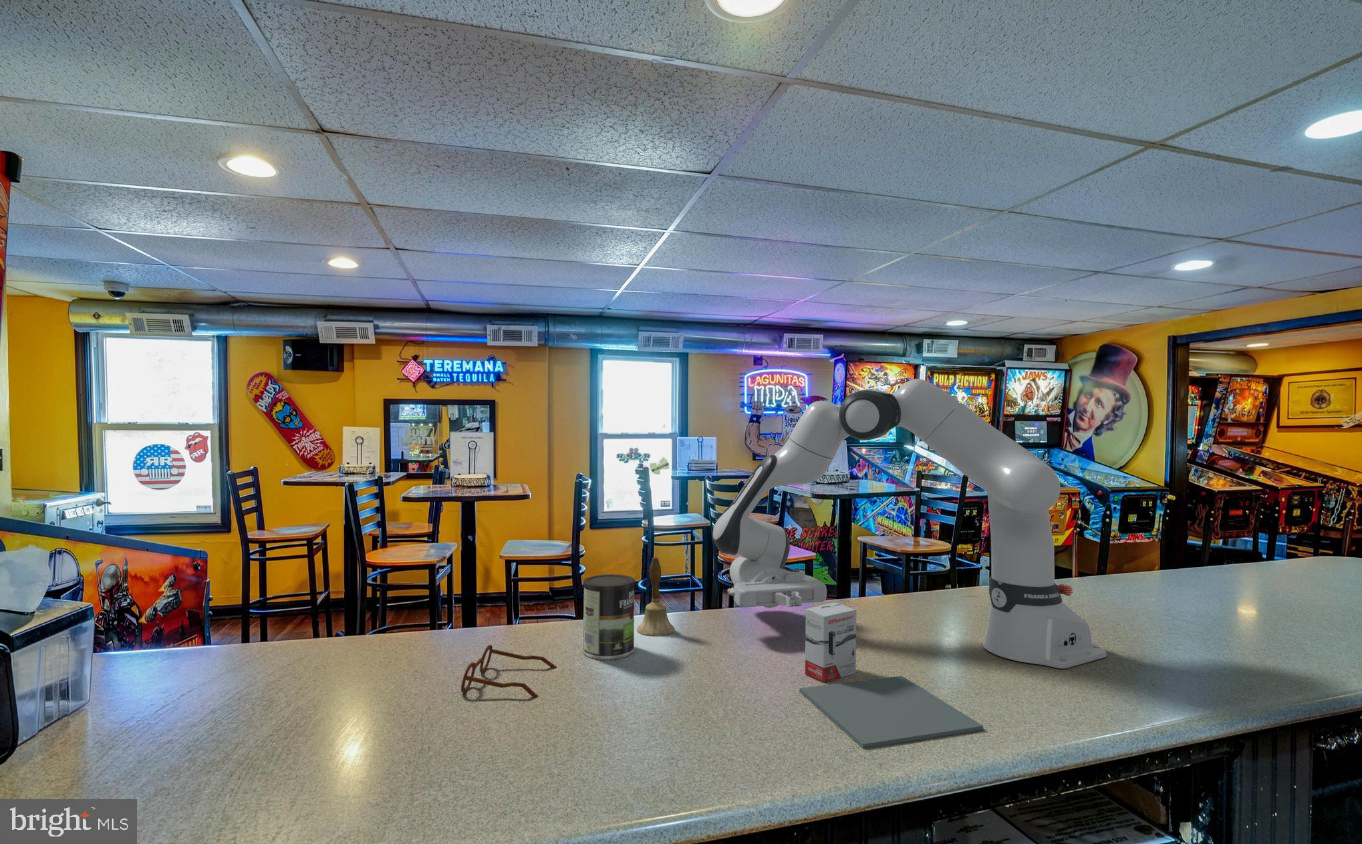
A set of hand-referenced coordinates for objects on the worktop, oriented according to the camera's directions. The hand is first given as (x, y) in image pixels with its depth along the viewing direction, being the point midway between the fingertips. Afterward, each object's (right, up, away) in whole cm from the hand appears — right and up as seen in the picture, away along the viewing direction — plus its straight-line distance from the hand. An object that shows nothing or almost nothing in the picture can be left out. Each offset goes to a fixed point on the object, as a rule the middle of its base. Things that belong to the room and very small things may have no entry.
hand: (795, 602), depth 122 cm
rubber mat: (+9, -8, -28) cm, 30 cm away
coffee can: (-38, -9, -3) cm, 39 cm away
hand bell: (-29, -9, +10) cm, 32 cm away
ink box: (+4, -9, -14) cm, 17 cm away
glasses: (-53, -9, -18) cm, 57 cm away
